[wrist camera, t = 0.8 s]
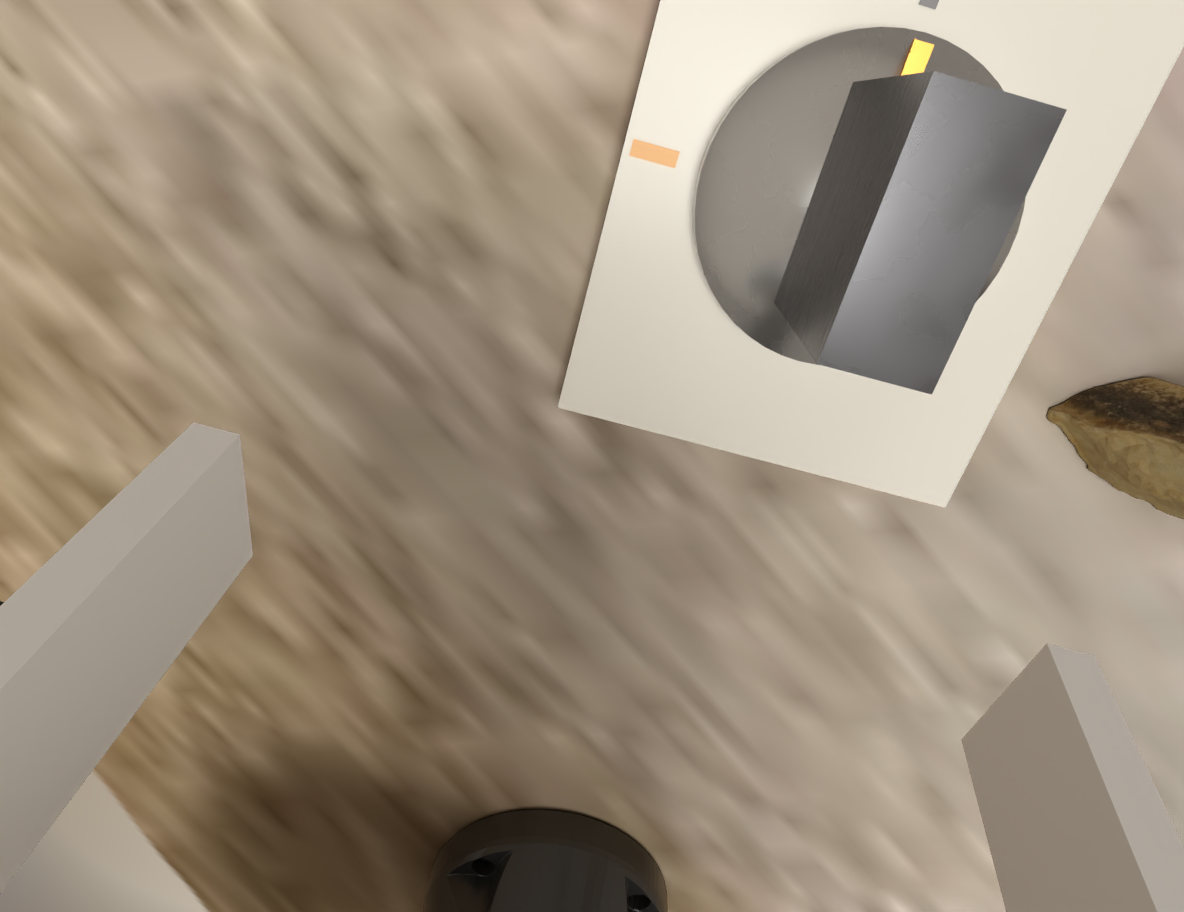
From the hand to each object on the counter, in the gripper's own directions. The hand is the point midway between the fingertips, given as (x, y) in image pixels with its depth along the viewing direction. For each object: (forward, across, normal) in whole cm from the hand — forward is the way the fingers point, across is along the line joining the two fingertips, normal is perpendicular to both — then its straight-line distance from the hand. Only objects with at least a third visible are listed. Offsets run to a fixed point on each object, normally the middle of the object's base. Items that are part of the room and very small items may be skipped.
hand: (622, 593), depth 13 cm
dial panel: (+23, -6, -1) cm, 24 cm away
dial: (+22, -6, -1) cm, 23 cm away
